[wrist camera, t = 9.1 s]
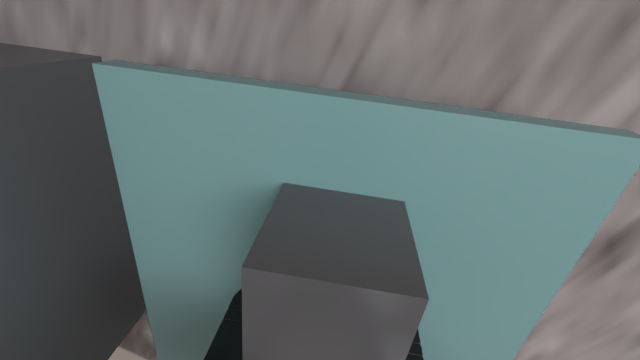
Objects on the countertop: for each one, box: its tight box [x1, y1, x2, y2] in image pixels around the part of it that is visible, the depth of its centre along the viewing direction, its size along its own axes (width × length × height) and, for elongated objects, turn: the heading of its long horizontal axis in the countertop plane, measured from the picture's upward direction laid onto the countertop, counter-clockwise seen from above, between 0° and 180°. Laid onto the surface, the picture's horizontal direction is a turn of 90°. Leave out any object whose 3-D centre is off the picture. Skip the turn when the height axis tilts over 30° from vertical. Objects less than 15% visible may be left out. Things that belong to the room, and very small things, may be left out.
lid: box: [92, 60, 640, 360], centre depth 11 cm, size 16×16×6 cm
